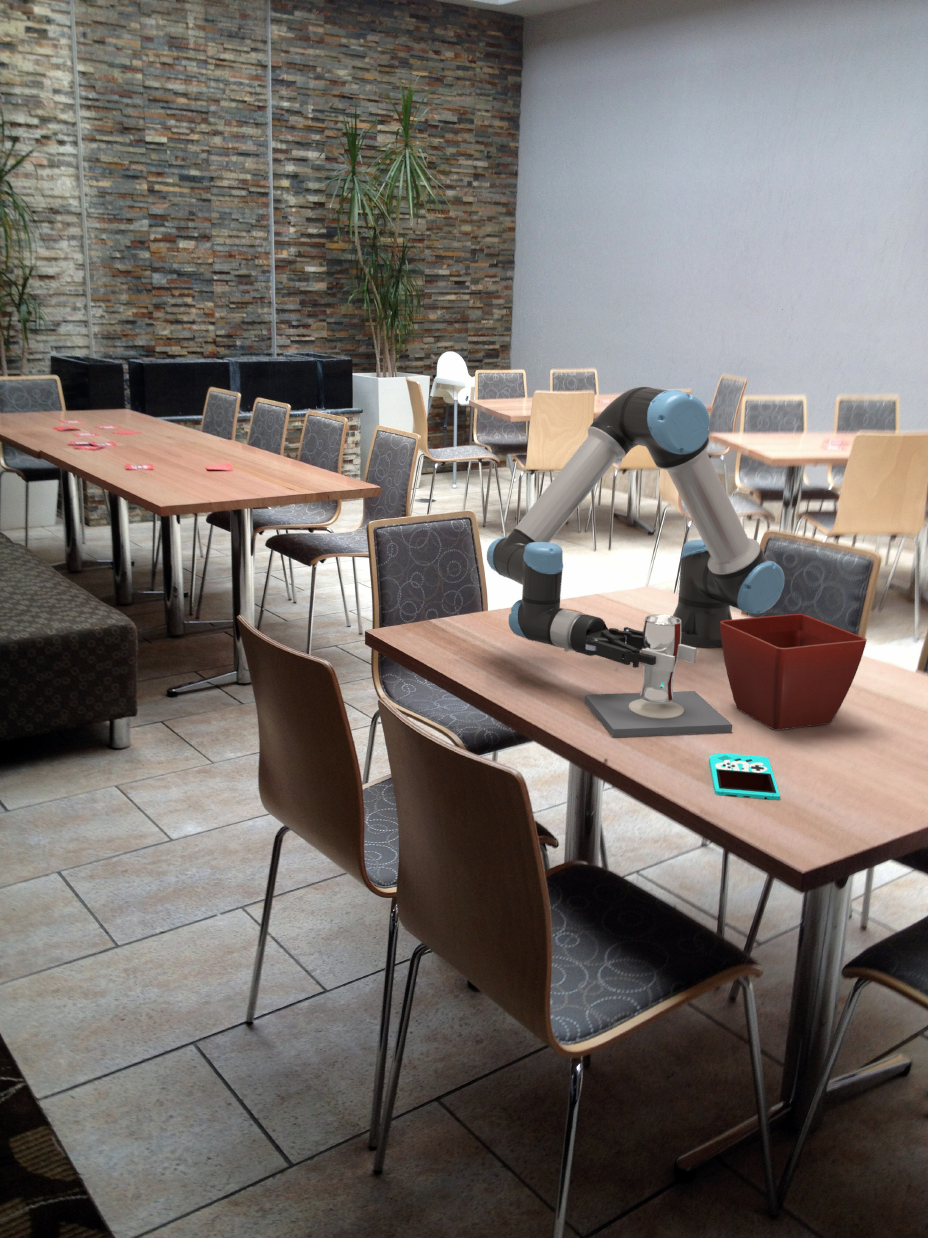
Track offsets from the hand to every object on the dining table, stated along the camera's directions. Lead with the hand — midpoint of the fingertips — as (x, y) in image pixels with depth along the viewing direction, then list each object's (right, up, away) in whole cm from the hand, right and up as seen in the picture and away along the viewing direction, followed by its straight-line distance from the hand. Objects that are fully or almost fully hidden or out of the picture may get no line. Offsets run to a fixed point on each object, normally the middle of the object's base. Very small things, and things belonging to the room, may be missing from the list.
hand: (684, 659), depth 195 cm
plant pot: (+20, -11, +9) cm, 24 cm away
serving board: (-4, -11, +6) cm, 13 cm away
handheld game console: (+6, -19, -19) cm, 27 cm away
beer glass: (-4, -7, +5) cm, 10 cm away
